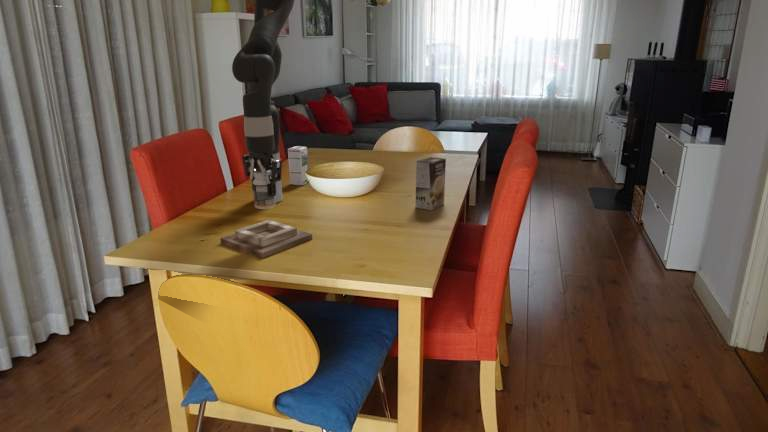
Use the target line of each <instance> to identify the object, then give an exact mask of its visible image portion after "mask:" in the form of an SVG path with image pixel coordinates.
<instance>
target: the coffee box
mask: <svg viewBox="0 0 768 432" xmlns="http://www.w3.org/2000/svg"><path fill="white" fill-rule="evenodd" d="M446 162H447V159H446V158H442V157H432V156H429V157H426V158H423V159H419V160H416V162H415V163H416V171H415V208H416V209H422V210H427V211H433V210H435V209H437V208H439V207H442V206H443V205H445V194H446V193H445V190H446V189H445V188H446V187H445V186H446V167H447V166H446V164H447V163H446Z"/></svg>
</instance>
